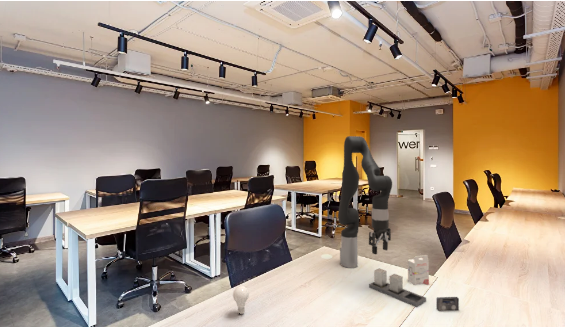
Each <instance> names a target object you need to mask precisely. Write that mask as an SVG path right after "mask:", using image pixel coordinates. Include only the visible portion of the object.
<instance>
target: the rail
mask: <svg viewBox="0 0 565 327" xmlns="http://www.w3.org/2000/svg"><path fill="white" fill-rule="evenodd" d="M368 288H370V289H372V290H374V291H377V292H379V293H381V294H384V295H385V296H388V297H391V298H393V299H396V300H399V301H401V302H403V303H405V304H408V305H410V306H412V307H415V308H418V307H420V306H422V305H423V304H424V303H426V302H427V297H426V296H424V295H419V294H417V293H415V292H412V291H409V290H407V289H405V288H403V292H402V293H401V294H399V295H398V294H395V293H393V292H390V283H389V282H387V286H385V287H383V288H380V287H378V286H375V285H374V281H373V282H371V283H369V284H368Z"/></svg>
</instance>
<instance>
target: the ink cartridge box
mask: <svg viewBox="0 0 565 327" xmlns="http://www.w3.org/2000/svg"><path fill="white" fill-rule="evenodd" d="M429 265H430V263H429V255H428V254H424V255H416V256H414V257H413V258H411V259H407V282H409V283H410V284H412V285H414V286H418V285H427V286H428V285H430V277H429V276H430V274H429V273H430V272H429V271H430V266H429Z"/></svg>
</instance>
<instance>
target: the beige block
mask: <svg viewBox="0 0 565 327" xmlns="http://www.w3.org/2000/svg"><path fill="white" fill-rule="evenodd" d="M388 280H389V282H388V283H389V284H390V292H393V293H395V294H398V295H399V294H401V293H402V292H403V289H404V288H403V287H404V286H403V276H402V275H398V274H396V273H393V274H391V275H389V279H388Z"/></svg>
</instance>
